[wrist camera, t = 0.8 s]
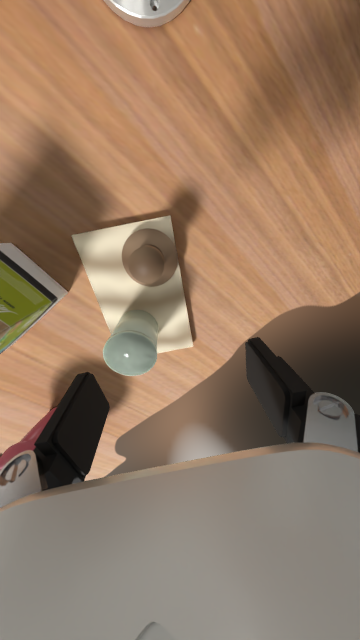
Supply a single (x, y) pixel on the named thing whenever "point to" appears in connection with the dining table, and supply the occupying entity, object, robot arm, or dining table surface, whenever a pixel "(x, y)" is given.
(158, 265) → the lid
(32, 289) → the tea box
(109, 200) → the dining table surface
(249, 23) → the dining table surface
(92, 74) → the dining table surface
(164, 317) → the board
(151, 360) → the jar
